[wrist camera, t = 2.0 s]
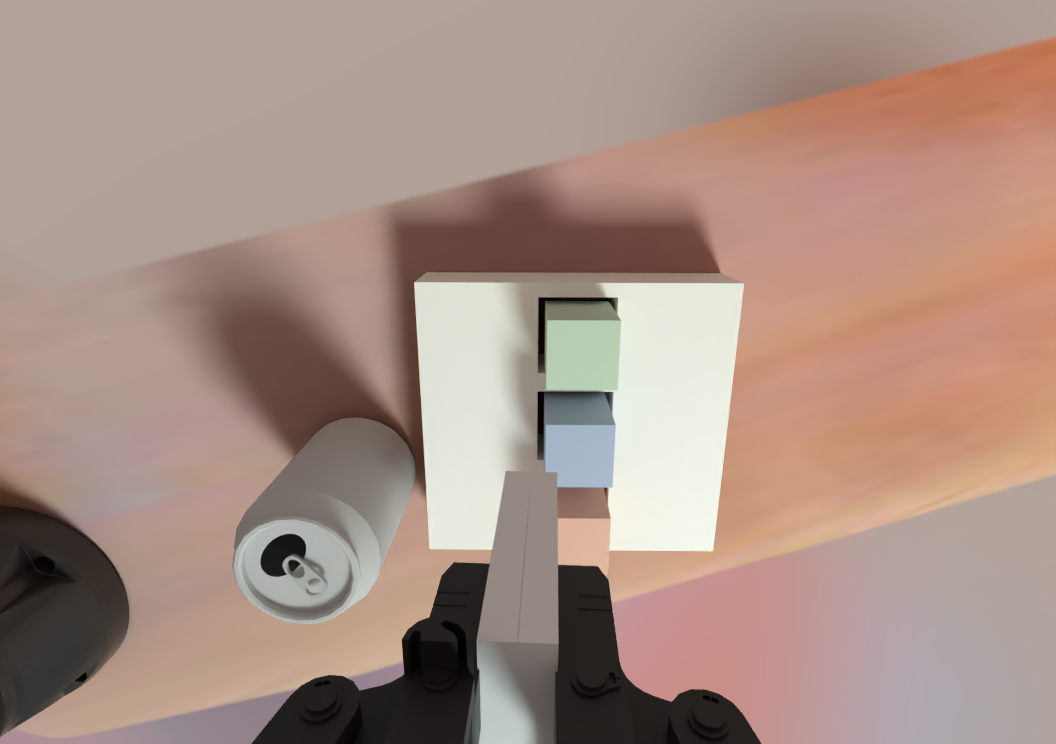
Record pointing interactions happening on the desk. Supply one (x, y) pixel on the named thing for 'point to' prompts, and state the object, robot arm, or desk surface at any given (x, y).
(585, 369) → the sage button
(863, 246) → the desk surface
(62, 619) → the robot arm
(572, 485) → the slate button
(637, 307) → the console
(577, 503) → the terracotta button
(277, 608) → the can
